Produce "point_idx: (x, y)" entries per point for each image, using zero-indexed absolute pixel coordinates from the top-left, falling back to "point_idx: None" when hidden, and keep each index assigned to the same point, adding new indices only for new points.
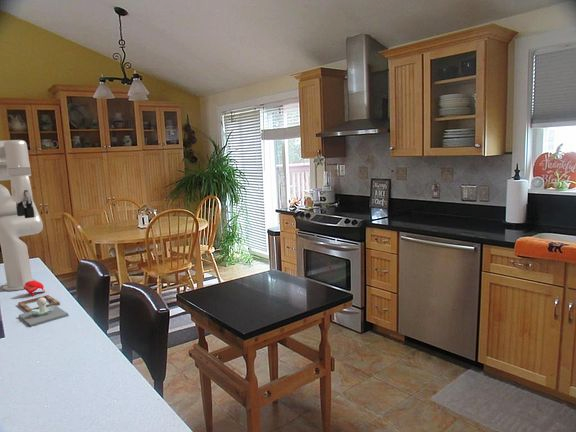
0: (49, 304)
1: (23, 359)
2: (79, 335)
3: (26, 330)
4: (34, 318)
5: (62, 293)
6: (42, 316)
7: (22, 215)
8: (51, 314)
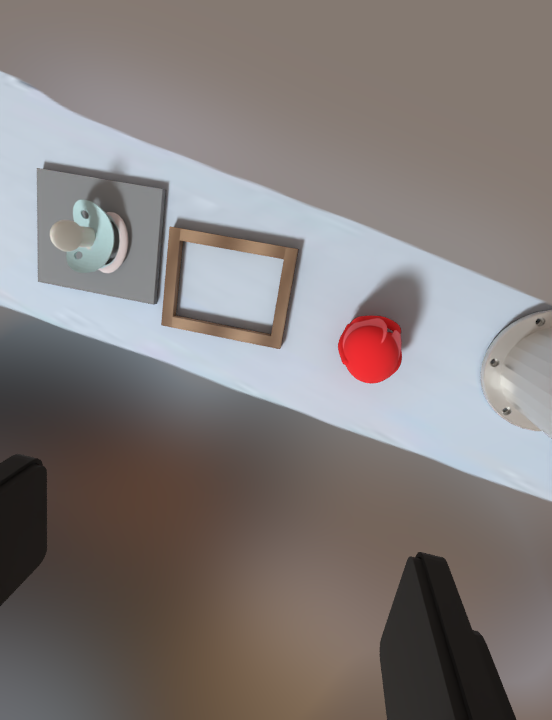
0: (168, 295)
1: None
2: None
3: (25, 148)
4: None
5: (275, 392)
6: None
7: (396, 600)
8: None
